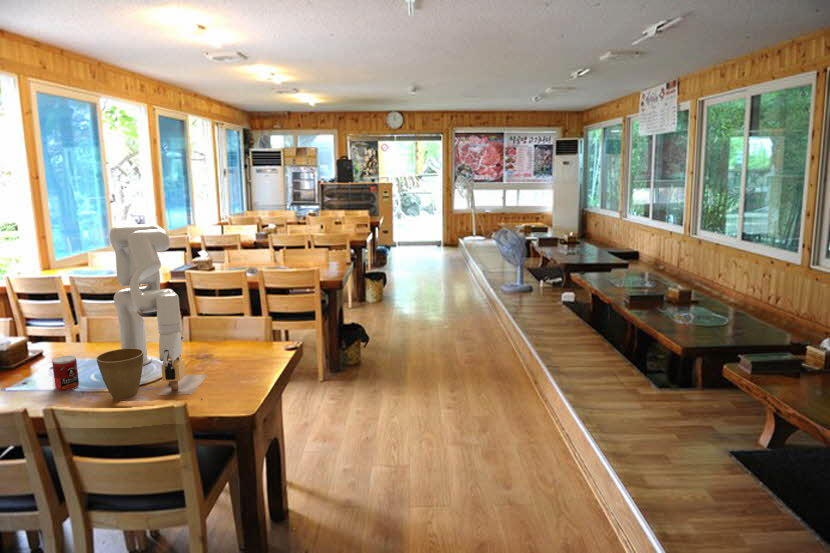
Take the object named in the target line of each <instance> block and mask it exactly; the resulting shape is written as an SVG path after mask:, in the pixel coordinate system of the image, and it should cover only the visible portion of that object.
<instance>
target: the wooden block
mask: <svg viewBox="0 0 830 553" xmlns="http://www.w3.org/2000/svg"><path fill="white" fill-rule="evenodd" d="M168 363H170V365H171V362H168ZM160 365H161V366H160V367H161V378H162V382H169V381H180V380H181V379H182V378H183V377H184V376H185V375H186V367H185V366H186V365H185V359H184V358H181V359H175V360H174V366H173V368H175V379H174V380H166V377H165V369H164V365H163V363H162V364H160Z"/></svg>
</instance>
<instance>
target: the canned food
mask: <svg viewBox="0 0 830 553" xmlns="http://www.w3.org/2000/svg"><path fill="white" fill-rule="evenodd" d="M51 362H52V364H51V365H52V371H53V378H54V387H55V389H56V390H57V391H60V392H61V391H64V392H65V391H70V389H71V390H73V389H72V388H74V389H76V388H78V387H79V384H80V381H79V379H80V378H79V372H78V363H77V362H78V361H77V357H76V356H75V355H63V356H59V357H56V358H54V359H52V361H51ZM77 386H78V387H77ZM75 387H76V388H75Z"/></svg>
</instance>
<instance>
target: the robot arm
mask: <svg viewBox="0 0 830 553" xmlns="http://www.w3.org/2000/svg"><path fill="white" fill-rule="evenodd" d="M109 240H110V244H111V246H112V248H113V251H114V254H115V263H116V264H115V266H116V269H115V271H116V280H117V282H118V284H119V285H120V286H122V287H128V288H122V289H119V290H117V291H116V292H115V294H114V296H113V303H114V307H115V310H116V313H117V318H118V327H119V328H118V330H119V338H120V347H121V348H120V349H125V348H137V349H141V350H143V366H144V365H147V364H149V363H151V362H152V361H153V359H152V358H153V357H152V356H151V355H148V348H147V339H146V338H147V337H146V336H147V335H146V326H145V319H144V318H143V316H141V315H140V314H139V313H142V314H145V313H152V312H153V313H154V312H156V317H157V318H156V319H157V331H158V335H159V338H158V340H159V341H158V343H159V344H158V347H159V348H158V349H159V350H158V351H159V361H160V362H162V364H163V365H164V369H165V377H166V380H174V379H175V368H173V366H174V360H175V359H182V358H181V356H182V353H183V345H182V344H183V343H182V337H181V332H182V321H181V311H180V310H181V309H180V308H181V307H180V298H179V295H178V293H176V292H175V291H174V290H173V289H171V288H162V289H161V275H160V272H161V271H160V269H161V266H162V264H161V260H160V257H159V254H158V252H165V251H168V250H169V248H170V246H171V240H170V237H169V235H168V233H167V231H166V230H165V229H164V228H162V227H161V226H159V225H157V224H155V223H146V224H145V223H144V224H129V225H127V224H126V225H117V226H114V227H112V228H111V229H110V230H109ZM144 285H145V286H144ZM168 362H171V365H170V363H168Z"/></svg>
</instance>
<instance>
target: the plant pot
mask: <svg viewBox="0 0 830 553" xmlns="http://www.w3.org/2000/svg"><path fill="white" fill-rule="evenodd" d="M95 361H96V362H97V367H98V369H99V373H100V375H101V377H102V381H103V382H104V384H105V387H106V389H107V390H108V392H109V394H110V395H111V397H112V399H113V400H114V401H117V402H125V401H127V399H126V400H123V398H129V397H132V396H135V395H136V394H137V393H138V392H139V389H140V384H141V378H142V373H143V366H144V365H143V350H141V349H137V348H125V349H121V348H118V349H113V350H109V351H106V352H103V353H100V354H99V355H98V356H96V358H95ZM117 399H119V400H117ZM120 399H121V400H120Z"/></svg>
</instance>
